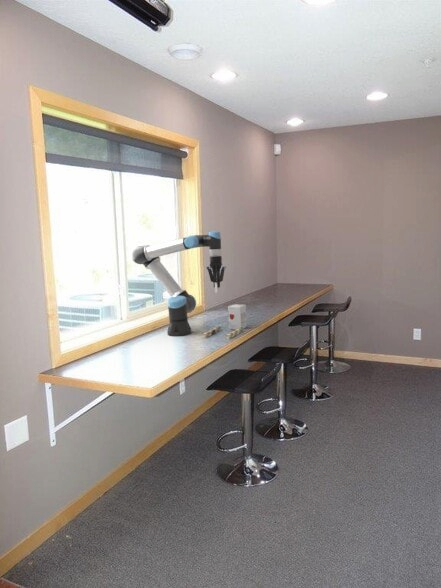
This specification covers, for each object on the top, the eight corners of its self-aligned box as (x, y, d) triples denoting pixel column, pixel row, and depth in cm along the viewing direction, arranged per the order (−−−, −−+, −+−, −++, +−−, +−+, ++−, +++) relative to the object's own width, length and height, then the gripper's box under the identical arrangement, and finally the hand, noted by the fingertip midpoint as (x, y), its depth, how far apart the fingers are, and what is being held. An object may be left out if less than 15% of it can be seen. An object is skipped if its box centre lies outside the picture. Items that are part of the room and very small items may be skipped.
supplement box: (228, 329, 300) (227, 306, 298) (234, 326, 308) (233, 304, 306) (241, 329, 296) (240, 306, 294) (247, 327, 303) (246, 304, 301)
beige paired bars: (228, 339, 272) (228, 334, 272) (203, 337, 280) (202, 333, 279) (243, 331, 292) (243, 326, 292) (218, 330, 299) (218, 325, 299)
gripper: (227, 255, 295) (228, 292, 299) (209, 255, 301) (211, 291, 305) (221, 256, 289) (223, 293, 292) (203, 256, 295) (205, 293, 298)
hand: (217, 292), depth 298 cm, fingers closed
